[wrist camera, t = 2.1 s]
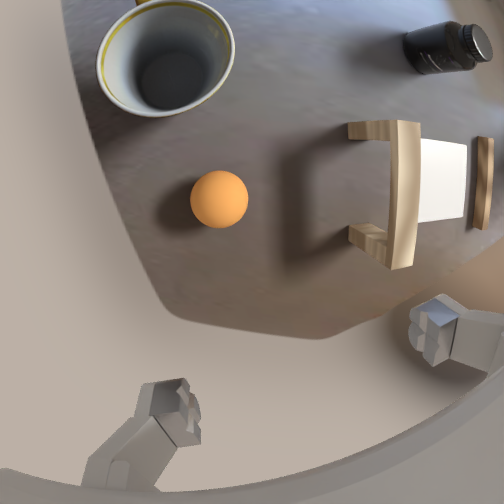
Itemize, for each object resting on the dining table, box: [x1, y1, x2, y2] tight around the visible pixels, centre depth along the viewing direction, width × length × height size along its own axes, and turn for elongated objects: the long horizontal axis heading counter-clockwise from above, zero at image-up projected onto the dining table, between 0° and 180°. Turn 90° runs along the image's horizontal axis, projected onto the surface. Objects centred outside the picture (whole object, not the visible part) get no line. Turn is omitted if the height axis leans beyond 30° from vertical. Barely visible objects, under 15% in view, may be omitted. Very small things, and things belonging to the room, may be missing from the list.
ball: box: [190, 171, 248, 228], centre depth 27 cm, size 6×6×6 cm
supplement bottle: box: [403, 21, 493, 74], centre depth 22 cm, size 7×7×12 cm
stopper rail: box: [472, 136, 494, 230], centre depth 35 cm, size 16×2×2 cm, turn 4°
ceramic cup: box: [95, 0, 235, 118], centre depth 19 cm, size 13×10×10 cm
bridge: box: [348, 120, 421, 270], centre depth 28 cm, size 3×14×9 cm, turn 4°
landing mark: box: [418, 139, 467, 223], centre depth 35 cm, size 12×12×1 cm
